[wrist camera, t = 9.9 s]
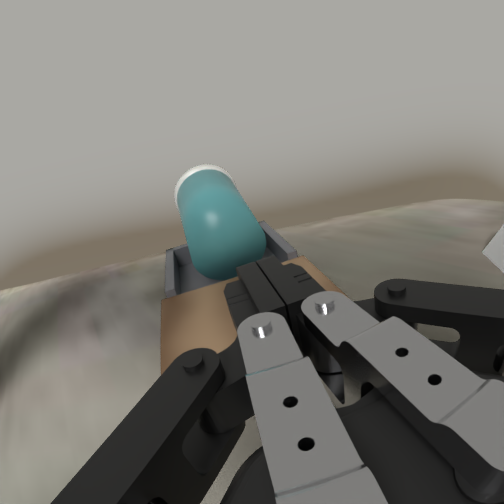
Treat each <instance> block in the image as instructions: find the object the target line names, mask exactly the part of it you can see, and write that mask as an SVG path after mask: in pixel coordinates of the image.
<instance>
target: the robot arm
mask: <svg viewBox="0 0 504 504" xmlns="http://www.w3.org/2000/svg"><path fill="white" fill-rule="evenodd" d="M236 272H237V276H238V279H239V280H237V281H234V282H230V283H227V284H226V286H225V289H224V291H223V292H224V295H225V299H226V302H227V305H228V308H229V311H230V314H231V318H232V321H233V324H234V327H235V329H236V332H237V337H236V339H235V341H234V342H233V343H232V344H231V345H230V346H229V347H228V348H226V349H225V350H223V351H221V352H220V353H218V354H217V353H216V352H215V351H214V350H212V349H209V348H195V349H191V350H188V351H186V352H184V353H182V354H181V355H179V356H178V357H177V358H176V359H175V360H174V361H173V362H172V363H171V364H170V365H169V367H168V368H167V369H166V370H165V371H164V372H163V374H162V375H161V376H160V377H159V378H158V380H157V381H156V382H155V383H154V384H153V385H152V387H151V388H150V389H149V390H148V391H147V392H146V394H145V395H144V396H143V397H142V398H141V400H140V401H139V402H138V403H137V404H136V405H135V407H134V408H133V409H132V410H131V411H130V412H129V414H128V415H127V416H126V417H125V418H124V419H123V421H122V422H121V423H120V424H119V425H118V426H117V428H116V429H115V430H114V431H113V432H112V433H111V435H110V436H109V437H108V438H107V439H106V440H105V442H104V443H103V444H102V445H101V446H100V447H99V448H98V450H97V451H96V452H95V453H94V454H93V455H92V457H91V458H90V459H89V460H88V461H87V462H86V464H85V465H84V466H83V467H82V468H81V469H80V470H79V472H78V473H77V474H76V475H75V476H74V477H73V478H72V480H71V481H70V482H69V483H68V484H67V485H66V487H65V488H64V489H63V490H62V491H61V492H60V493H59V495H58V496H57V497H56V498H55V499H54V500H53V501H52V502H51V504H200V503H201V501H202V500H203V498H204V497H205V495H206V493H207V492H208V490H209V489H210V487H211V485H212V484H213V482H214V480H215V479H216V477H217V475H218V474H219V472H220V470H221V469H222V467H223V465H224V464H225V462H226V460H227V459H228V457H229V455H230V453H231V452H232V450H233V448H234V446H235V445H236V443H237V441H238V439H239V438H240V436H241V434H242V432H243V430H244V428H245V420H247V419H249V418H250V417H252V416H253V415H255V417H256V422H257V426H258V430H259V434H260V437H261V441H262V445H263V446H262V447H260V448H259V449H257V450H256V451H255V452H254V453H253V454H252V455H251V456H250V457H249V458H248V459H247V460H246V461H245V462H244V463H243V464H242V466H241V467H240V468H239V470H238V471H237V473H236V474H235V476H234V478H233V480H232V482H231V484H230V486H229V487H228V489H227V491H226V493H225V495H224V497H223V499H222V501H221V503H220V504H504V290H501V289H491V288H482V287H472V286H463V285H453V284H444V283H434V282H425V281H416V280H407V279H391V280H387V281H384V282H382V283H380V284H379V285H378V286H377V287H376V288H375V290H374V298H373V299H367V300H362V301H355V302H353V301H351V300H350V299H349V298H347V297H346V296H345V295H343V294H342V293H339V292H335V291H326V290H325V289H324V288H323V287H322V286H321V285H320V284H319V283H318V282H317V281H316V280H315V279H314V278H312V276H311V275H310V274H309V273H307V271H306V270H305V269H304V268H303V267H302V266H299V265H296V264H293V263H289V264H286V265H283V264H282V263H281V262H280V261H279V260H278V259H277V258H276V257H275V256H274V255H273V256H270V257H267V258H264V259H260V260H257V261H255V262H251V263H248V264H245V265H242V266H239V267H236ZM417 323H421V324H428V325H435V326H442V327H449V328H453V329H455V330H457V331H458V332H459V334H460V339H459V340H458V341H456V342H444V341H437V340H431V339H427V338H426V337H424V336H423V335H422V334H420V333H419V332H417ZM332 402H333V403H334V405H335V406H336V407H337V408H336V409H335V407H334V405H333V403H332Z"/></svg>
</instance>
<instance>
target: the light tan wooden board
mask: <svg viewBox="0 0 504 504" xmlns="http://www.w3.org/2000/svg"><path fill="white" fill-rule="evenodd" d="M289 263H293V264H296V265H299V266H302V267H303V268H304V269H305V270H306V271H307V273H309V274H310V275H311V276H312V278H314V279H315V280H316V281H317V282H318V283H319V284H320V285H321V286H322V287H323V288H324V289H325V290H326V291H335V292H339V293H342V294H343V295H345V294H344V293H343V292H342V291H341V290H340V289H339V288H338V287H337V286H336V285H335V284H333V283H332V282H331V281H330V280H329V279H328V278H327V277H326V276H325V275H324V274H323V273H322V272H321V271H320V270H318V269H317V268H316V267H315V266H314V265H313V264H312V263H311V262H310V261H309V260H308V259H307V258H305V257H304V256H300V257H297V258H294V259H291V260H288V261H285V262H282V264H283V265H286V264H289ZM237 280H239V279H238V277H234V278H231V279H228V280H225V281H222V282H218V283H215V284H212V285H209V286H205V287H202V288H199V289H196V290H192V291H189V292H186V293H183V294H179V295H176V296H173V297H169V298H166V299H163V300H162V301H161V375H162V374H163V372H164V371H165V370H166V369H167V368H168V367H169V365H170V364H171V363H172V362H173V361H174V360H175V359H176V358H177V357H178V356H179V355H181V354H182V353H184V352H186V351H188V350H191V349H195V348H209V349H212V350H214V351H215V352H216V353H217V354H218V353H220V352H221V351H223V350H225V349H226V348H228V347H229V346H230V345H231V344H232V343H233V342H234V341H235V339H236V337H237V332H236V329H235V327H234V324H233V321H232V318H231V314H230V311H229V308H228V305H227V302H226V299H225V295H224V292H223V291H224V289H225V286H226V284H227V283H230V282H234V281H237ZM345 296H346V295H345ZM346 297H347V296H346ZM347 298H348V297H347ZM351 301H352V300H351Z"/></svg>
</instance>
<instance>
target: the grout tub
mask: <svg viewBox="0 0 504 504" xmlns="http://www.w3.org/2000/svg"><path fill="white" fill-rule="evenodd" d="M174 199H175V203H176V207H177V209H178V211H179V213H180V216H181V220H182V224H183V228H184V232H185V236H186V240H187V244H188V248H189V252H190V255H191V259H192V263H193V265H194V267H195V268H196V270H197V271H198V272H199V273H201V274H202V275H204V276H205V277H208V278H210V279H214V280H228V279H231V278H234V277H238V276H237V272H236V267H239V266H242V265H245V264H248V263H251V262H255V261H257V260H260V259H262V257H263V255H264V252H265V249H266V237H265V233H264V231H263V229H262V228H261V226H260V225H259V223H258V222H257V220H256V218H255V217H254V215H253V214H252V212H251V210H250V209H249V207H248V206H247V204H246V203H245V201H244V199H243V198H242V196H241V195H240V193H239V192H238V190H237V188H236V184H235V182H234V180H233V179H232V177H231V176H230V174H229V173H228V172H227V171H226V170H225V169H223V168H221V167H219V166H216V165H212V164H203V165H198V166H195V167H193V168H191V169H189V170H188V171H186V172H185V173H184V174H183V175H182V176H181V177H180V179H179V180H178V182H177V184H176V187H175V191H174Z"/></svg>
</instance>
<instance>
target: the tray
mask: <svg viewBox="0 0 504 504" xmlns="http://www.w3.org/2000/svg"><path fill="white" fill-rule="evenodd" d="M258 223H259V225H260V226H261V228H262V229H263V231H264V233H265V237H266V249H265V252H264V255H263V257H262V259H264V258H267V257H270V256H273V255H274V256H275V257H276V258H277V259H278V260H279V261H280V262H281V263H282V262H285V261H288V260H291V259H294V258H297V257H298V256H297V251H296V250H295V249H294V248H293V247H292V246H291V245H290V244H289V243H288V242H287V241H285V240H284V239H283V238H282V237H281V236H280V235H279V234H278V233H277V232H276V231H275V230H273V229H272V228H271V227H270V226H269V225H268V224H267V223H266V222H265V221H261V222H258ZM222 281H225V280H214V279H210V278H208V277H205V276H204V275H202V274H201V273H199V272H198V271H197V270H196V268H195V267H194V265H193V263H192V259H191V255H190V252H189V248H188V244H185V245H181V246H178V247H175V248H171V249H168V250H166V266H165V293H166V296H167V298H169V297H173V296H176V295H179V294H183V293H186V292H189V291H192V290H196V289H199V288H202V287H205V286H209V285H212V284H215V283H218V282H222Z"/></svg>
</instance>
